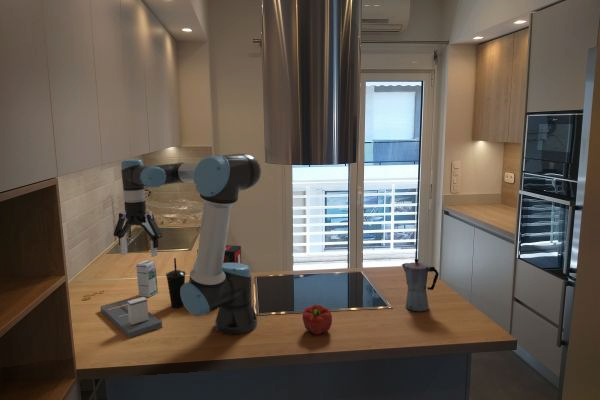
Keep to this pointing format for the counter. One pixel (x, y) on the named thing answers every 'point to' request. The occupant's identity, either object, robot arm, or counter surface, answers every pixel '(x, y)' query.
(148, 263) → the syrup box
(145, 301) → the fader knob
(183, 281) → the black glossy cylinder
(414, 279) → the moka pot
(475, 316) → the counter surface
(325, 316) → the vegetable
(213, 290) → the robot arm
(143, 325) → the fader console
